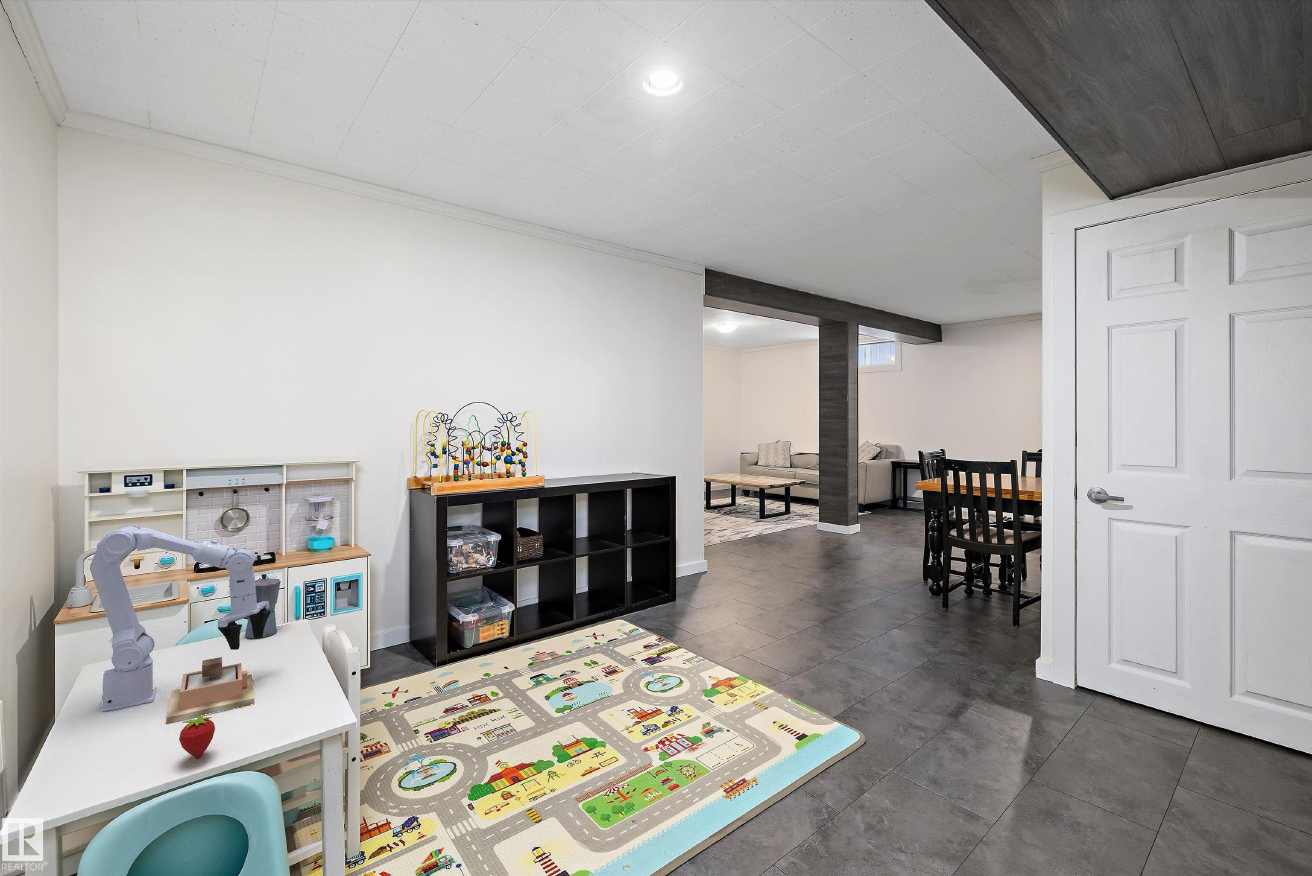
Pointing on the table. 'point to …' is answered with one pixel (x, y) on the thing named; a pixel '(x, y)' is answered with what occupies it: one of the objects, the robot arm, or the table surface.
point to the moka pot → (269, 592)
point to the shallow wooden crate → (212, 690)
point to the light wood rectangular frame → (177, 715)
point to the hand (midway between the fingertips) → (246, 643)
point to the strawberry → (197, 735)
